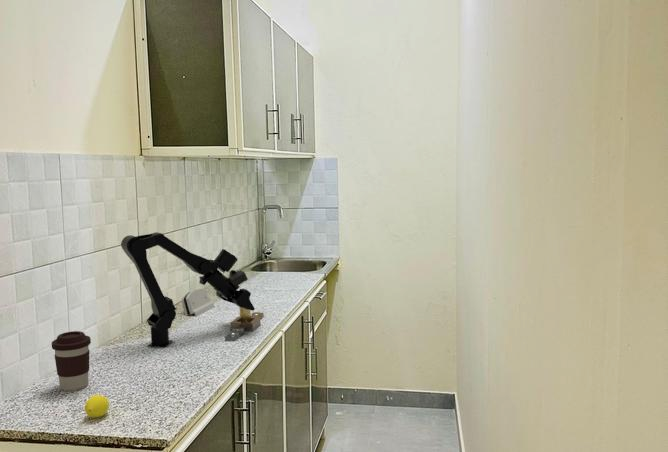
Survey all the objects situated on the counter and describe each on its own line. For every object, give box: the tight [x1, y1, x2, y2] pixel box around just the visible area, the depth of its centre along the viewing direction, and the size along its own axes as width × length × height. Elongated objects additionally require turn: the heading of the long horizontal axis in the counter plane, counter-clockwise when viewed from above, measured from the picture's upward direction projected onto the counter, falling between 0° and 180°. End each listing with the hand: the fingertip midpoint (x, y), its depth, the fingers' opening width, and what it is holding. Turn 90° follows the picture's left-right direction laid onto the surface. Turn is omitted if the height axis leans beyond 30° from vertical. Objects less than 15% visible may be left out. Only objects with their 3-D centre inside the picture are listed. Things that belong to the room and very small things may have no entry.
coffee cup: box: [51, 330, 92, 392], centre depth 167 cm, size 10×10×15 cm
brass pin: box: [238, 296, 252, 322], centre depth 222 cm, size 4×4×12 cm
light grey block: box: [180, 288, 216, 317], centre depth 249 cm, size 17×5×10 cm, turn 165°
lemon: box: [84, 394, 110, 419], centre depth 147 cm, size 7×5×5 cm
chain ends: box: [224, 311, 265, 342], centre depth 223 cm, size 33×9×3 cm, turn 169°
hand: (248, 307), depth 223 cm, fingers open, 9 cm apart
